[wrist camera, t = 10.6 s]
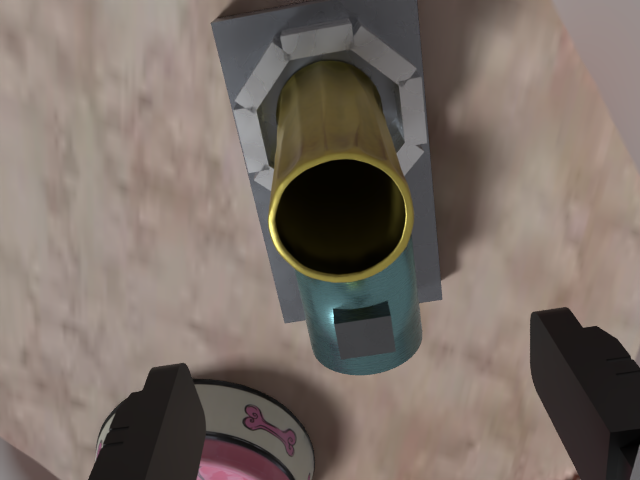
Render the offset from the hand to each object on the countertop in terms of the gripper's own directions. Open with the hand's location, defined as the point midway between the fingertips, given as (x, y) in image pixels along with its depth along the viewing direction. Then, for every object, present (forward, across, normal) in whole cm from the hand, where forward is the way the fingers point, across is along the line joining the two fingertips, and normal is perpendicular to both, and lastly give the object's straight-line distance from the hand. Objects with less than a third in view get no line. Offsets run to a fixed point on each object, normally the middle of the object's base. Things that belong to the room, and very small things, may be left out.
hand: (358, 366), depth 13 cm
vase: (+22, 0, 0) cm, 22 cm away
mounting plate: (+24, 0, +4) cm, 24 cm away
